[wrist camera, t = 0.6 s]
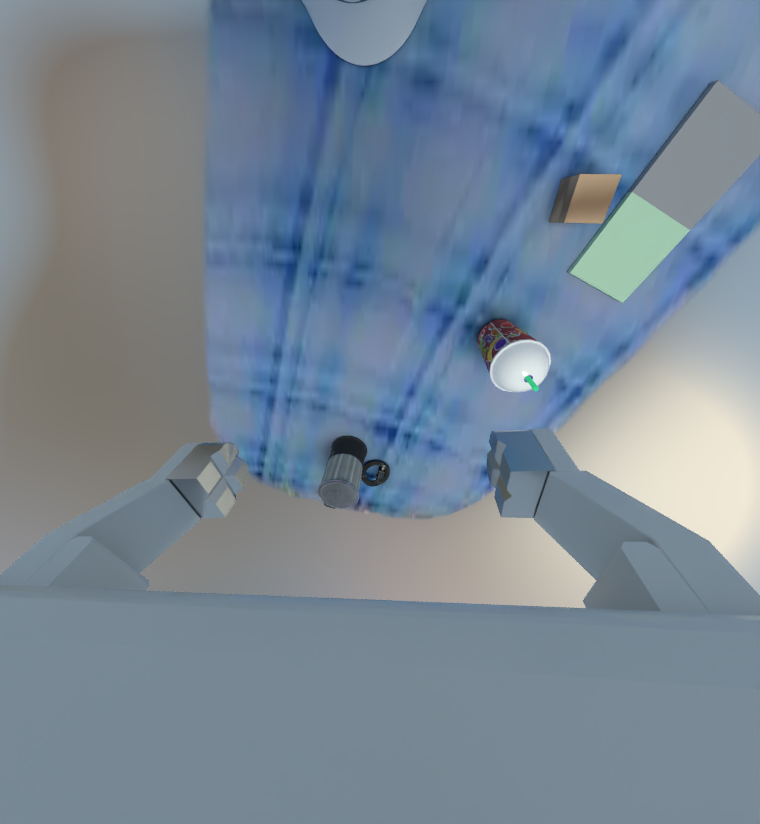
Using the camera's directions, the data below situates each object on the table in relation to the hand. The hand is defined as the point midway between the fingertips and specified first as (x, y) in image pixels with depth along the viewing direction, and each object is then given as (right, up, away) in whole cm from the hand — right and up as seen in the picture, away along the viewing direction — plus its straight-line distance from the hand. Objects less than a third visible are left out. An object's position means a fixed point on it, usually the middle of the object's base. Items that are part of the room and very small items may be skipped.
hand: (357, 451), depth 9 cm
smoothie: (+22, +16, +43) cm, 51 cm away
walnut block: (+29, +32, +31) cm, 53 cm away
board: (+41, +30, +31) cm, 59 cm away
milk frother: (-4, -11, +64) cm, 65 cm away
